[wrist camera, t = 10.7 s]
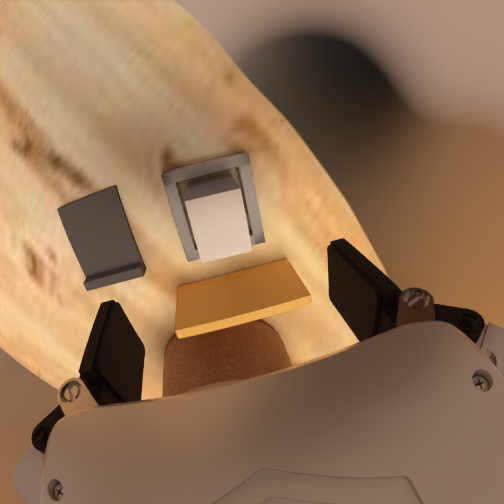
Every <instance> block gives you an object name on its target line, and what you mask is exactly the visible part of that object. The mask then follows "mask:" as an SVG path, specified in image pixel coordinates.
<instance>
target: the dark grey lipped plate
mask: <svg viewBox="0 0 504 504" xmlns="http://www.w3.org/2000/svg"><path fill="white" fill-rule="evenodd" d="M57 210H58V213H59V216H60V218H61V221H62V223H63V226H64V229H65V231H66V234H67V236H68V238H69V241H70V243H71V246H72V248H73V250H74V252H75V255H76V257H77V259H78V261H79V263H80V266H81V268H82V270H83V272H84V274H85V276H86V279H85V281H84V283H83V284H84V286H85V288H86V289H87V291H89V290H93V289H97V288H100V287H104V286H108V285H112V284H116V283H119V282H123V281H127V280H131V279H134V278H138V277H142V276H144V274H145V271H146V267H145V265H144V262H143V260H142V257H141V255H140V252H139V249H138V247H137V244H136V242H135V239H134V236H133V234H132V231H131V228H130V225H129V223H128V220H127V217H126V214H125V211H124V208H123V205H122V202H121V199H120V196H119V193H118V190H117V186H114V187H111V188H108V189H105V190H103V191H100V192H98V193H95V194H92V195H90V196H87V197H85V198H82V199H80V200H77V201H75V202H72V203H70V204H68V205H65V206H63V207H61V208H59V209H57Z"/></svg>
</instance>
